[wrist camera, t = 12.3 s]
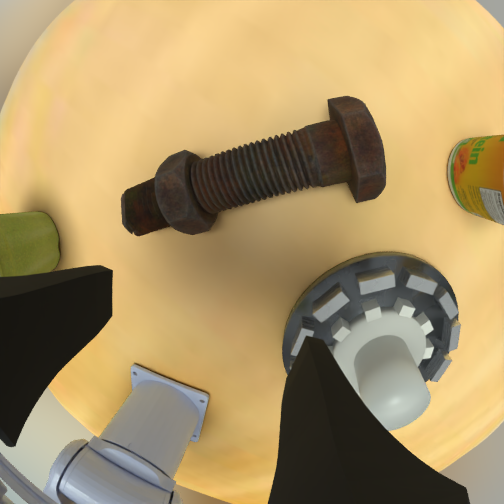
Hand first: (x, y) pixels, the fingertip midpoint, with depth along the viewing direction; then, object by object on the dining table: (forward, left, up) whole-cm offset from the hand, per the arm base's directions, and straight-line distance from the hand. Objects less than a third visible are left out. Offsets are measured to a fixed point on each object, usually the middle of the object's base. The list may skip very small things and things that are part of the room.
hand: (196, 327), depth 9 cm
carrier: (-4, -11, -9) cm, 15 cm away
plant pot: (-5, +20, -10) cm, 23 cm away
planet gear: (-4, -11, -8) cm, 14 cm away
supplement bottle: (+10, -14, -10) cm, 20 cm away
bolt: (+5, +1, -10) cm, 11 cm away
